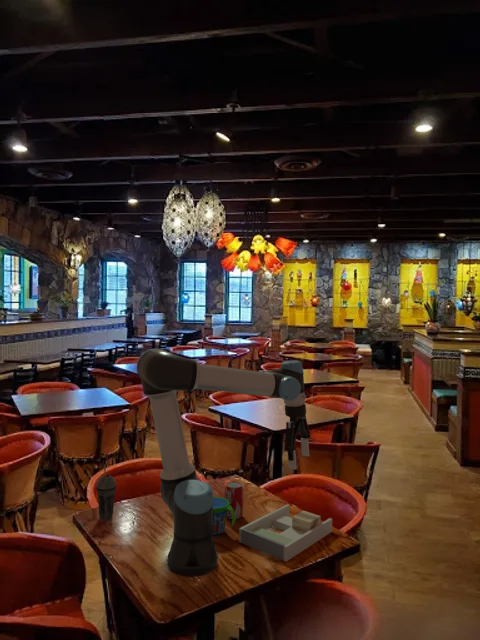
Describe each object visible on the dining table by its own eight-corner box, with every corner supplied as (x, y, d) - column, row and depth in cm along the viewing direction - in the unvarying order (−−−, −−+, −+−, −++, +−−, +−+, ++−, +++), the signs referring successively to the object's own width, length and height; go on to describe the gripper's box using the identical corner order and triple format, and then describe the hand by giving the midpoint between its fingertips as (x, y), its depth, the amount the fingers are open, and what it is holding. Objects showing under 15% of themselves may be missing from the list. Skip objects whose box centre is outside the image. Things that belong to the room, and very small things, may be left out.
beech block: (309, 534, 164) (309, 522, 164) (292, 528, 169) (292, 516, 169) (320, 527, 170) (320, 516, 170) (303, 521, 174) (303, 510, 174)
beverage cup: (120, 516, 181) (121, 462, 181) (106, 524, 175) (107, 468, 174) (105, 512, 184) (106, 459, 184) (91, 519, 178) (92, 464, 178)
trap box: (286, 561, 151) (286, 547, 151) (238, 541, 163) (239, 528, 163) (331, 531, 173) (332, 518, 172) (287, 516, 185) (287, 504, 185)
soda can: (242, 520, 180) (243, 488, 180) (223, 520, 180) (224, 487, 180) (243, 512, 187) (243, 481, 187) (224, 512, 187) (225, 481, 187)
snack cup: (186, 531, 170) (186, 502, 170) (204, 520, 179) (204, 492, 179) (224, 543, 162) (224, 512, 162) (240, 531, 171) (241, 502, 171)
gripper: (292, 413, 163) (297, 476, 164) (315, 396, 185) (320, 451, 187) (271, 412, 166) (276, 473, 168) (297, 395, 189) (301, 449, 190)
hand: (299, 462), depth 177 cm, fingers open, 13 cm apart
